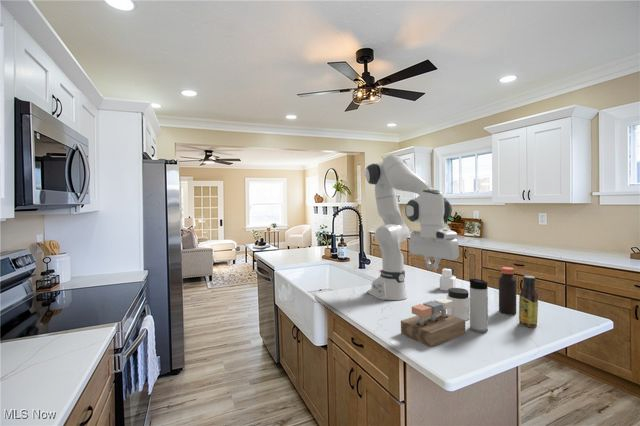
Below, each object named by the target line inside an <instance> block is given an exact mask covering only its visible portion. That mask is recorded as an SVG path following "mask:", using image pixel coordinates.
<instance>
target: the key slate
mask: <svg viewBox="0 0 640 426" xmlns="http://www.w3.org/2000/svg"><path fill="white" fill-rule="evenodd" d="M422 305H425V306H428V307H431V308H432V314H431V315H430V321H431V322H435V313H437V312H441V311H443V304H440V303H437V302H434V300H429V301H427V302H423V303H422Z"/></svg>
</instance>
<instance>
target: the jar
mask: <svg viewBox="0 0 640 426" xmlns="http://www.w3.org/2000/svg"><path fill="white" fill-rule="evenodd" d="M446 299H448V300H452V301H453V307H452V308H449V309H446V314H448V315H451V316H454V317H457V318H460V319H463V320H465V322H466V321H468V320H470V292H469V290H468V289H465V288H461V287H456V288H449V289H448V291H447V295H446Z"/></svg>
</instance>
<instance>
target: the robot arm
mask: <svg viewBox="0 0 640 426" xmlns="http://www.w3.org/2000/svg"><path fill="white" fill-rule="evenodd" d="M364 176H365V180H366V181H367V182H368V184H370V185H374V197H375V202H376V207H377V214H378V215H379V217H380V218H381V219H382V220H383V221H382V222H383V224H382V225H380V226H379V227H378V228H376V230H375V231H374V238H375V242H376V243H377V244H378V245H379V248H380V251H381V259H382V261H381V263H382V269H380V270H378V272H379V276H378V277H377V278H375V279H374V280H373V281H372V283H371V288H370V289H367V291H366V293H367V294H368V295H369V294H370V295H371V296H373V297H375V298H377V299H379V300H381V301H382V300H383V301H385V300H386V301H388V300H389V301H402V300H405V299H407V298H408V294H407V289H406V281H405V278H406V271H405V260H404V257H405V256H404V254H403V253H402V251H401V247H400V243H403V242H404V241H406V240H407V239H408V238H409V236H410V238H409V246H408V252H409V253H410V255H411V254H412V255H417V256H423V259H424V261H425V263H426V268H428V269H432V270H438V269H439V264H440V262H441V260H447V261H456V260H458V258H459V256H460V249H459V248H460V247H459V243H458V240H457V238H458V233H457V232H456V231H455V230H452V229H449V228H447V227H445V222H446V221H448V219H450V217H451V216H452V213H453V208H452V207H453V206H452V205H451V203H450V202H449V200H448V199H447V198H446V197H444V195H443V192H442V191H440V190H439V189H435V188H433V187H432V185H430V183H429V182H427V180H425V179H424V178H422V176H419V175H418V174H416V173H415V172H414V171H413V170H412V169H410V168H409V165H408V163H407V162H406V161H405V159H404V160H403V159H402V158H401V157H399V155H396V154H390V155H388V156H386V157H384V159H383V160H382V162H381V161H380V162H376V163H370V164H369V165H367V166H366V168H365V174H364ZM396 190H397V191H402V192H408V193H414V194H416V195H418V196H417V197H415V198H413V199H410V200H409V201H408V202H407V203H406V205H405V211H404V213H405V217H406V219H408V220H409V221H410V222H414V223H419V230H418V231H417V230H413V231H411V233H410V228H409V227H408V226H407V224H406V223H405V221H404V218H403V216H402V214H401V211H400V206H399V202H398V198H397V197H398V196H397V192H396ZM431 258H433V259H434V260H433V261H434V262H433V263H432V262H431Z"/></svg>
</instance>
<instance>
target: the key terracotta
mask: <svg viewBox="0 0 640 426" xmlns="http://www.w3.org/2000/svg"><path fill="white" fill-rule="evenodd" d="M411 314H412V315H414V316H417V315H418V316H419V326H422V327H423V326H424V317H425V316H428V315H431V314H432V308H431V307H428V306H425V305H423V303H422V304H421V303H419V304H416V305H413V306H411Z"/></svg>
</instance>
